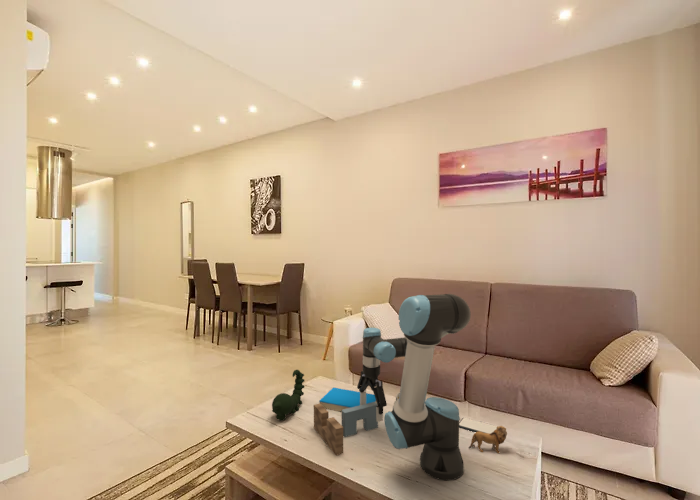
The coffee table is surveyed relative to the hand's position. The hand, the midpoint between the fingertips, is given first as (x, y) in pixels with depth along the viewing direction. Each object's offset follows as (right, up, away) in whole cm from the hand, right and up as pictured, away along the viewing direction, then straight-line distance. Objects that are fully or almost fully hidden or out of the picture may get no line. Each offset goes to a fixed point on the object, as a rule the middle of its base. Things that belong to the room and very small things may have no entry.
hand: (370, 413), depth 152 cm
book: (-9, -6, +21) cm, 24 cm away
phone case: (+46, -7, -1) cm, 47 cm away
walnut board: (-18, -6, -10) cm, 21 cm away
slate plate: (-5, -6, -3) cm, 8 cm away
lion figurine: (+44, -7, -16) cm, 47 cm away
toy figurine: (-37, -6, +12) cm, 40 cm away
